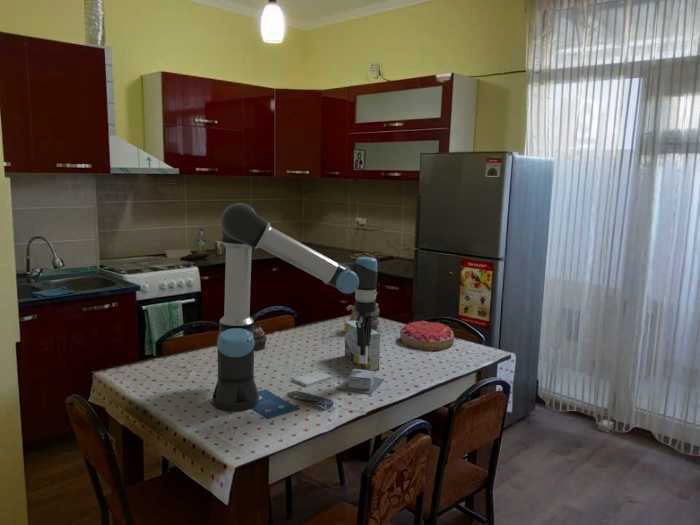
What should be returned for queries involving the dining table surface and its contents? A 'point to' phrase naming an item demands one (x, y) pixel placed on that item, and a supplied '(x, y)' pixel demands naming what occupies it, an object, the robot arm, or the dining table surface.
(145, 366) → the dining table surface
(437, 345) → the cake
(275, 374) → the dining table surface
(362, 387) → the medicine box
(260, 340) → the cupcake
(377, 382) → the rubber mat
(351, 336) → the snack box
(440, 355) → the dining table surface
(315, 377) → the hard drive
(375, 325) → the tankard
